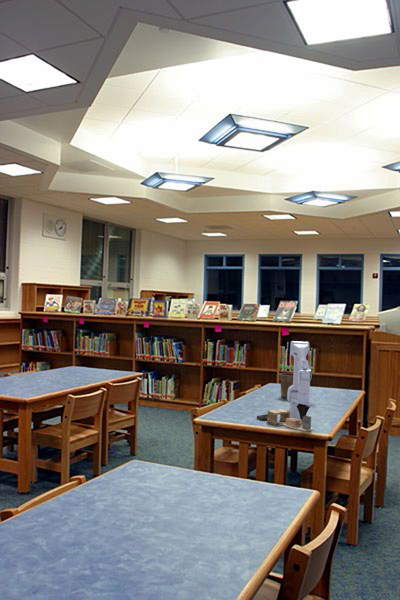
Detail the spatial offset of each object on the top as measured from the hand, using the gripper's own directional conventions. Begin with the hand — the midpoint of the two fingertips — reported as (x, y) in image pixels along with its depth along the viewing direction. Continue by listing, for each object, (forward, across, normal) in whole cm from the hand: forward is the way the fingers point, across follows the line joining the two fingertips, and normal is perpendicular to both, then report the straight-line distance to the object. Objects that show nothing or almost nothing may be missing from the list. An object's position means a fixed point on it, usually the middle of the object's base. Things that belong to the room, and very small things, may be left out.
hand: (302, 419), depth 267 cm
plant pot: (+5, -69, +70) cm, 98 cm away
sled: (+5, -5, 0) cm, 7 cm away
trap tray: (+5, -26, 0) cm, 26 cm away
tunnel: (+5, -16, 0) cm, 17 cm away
